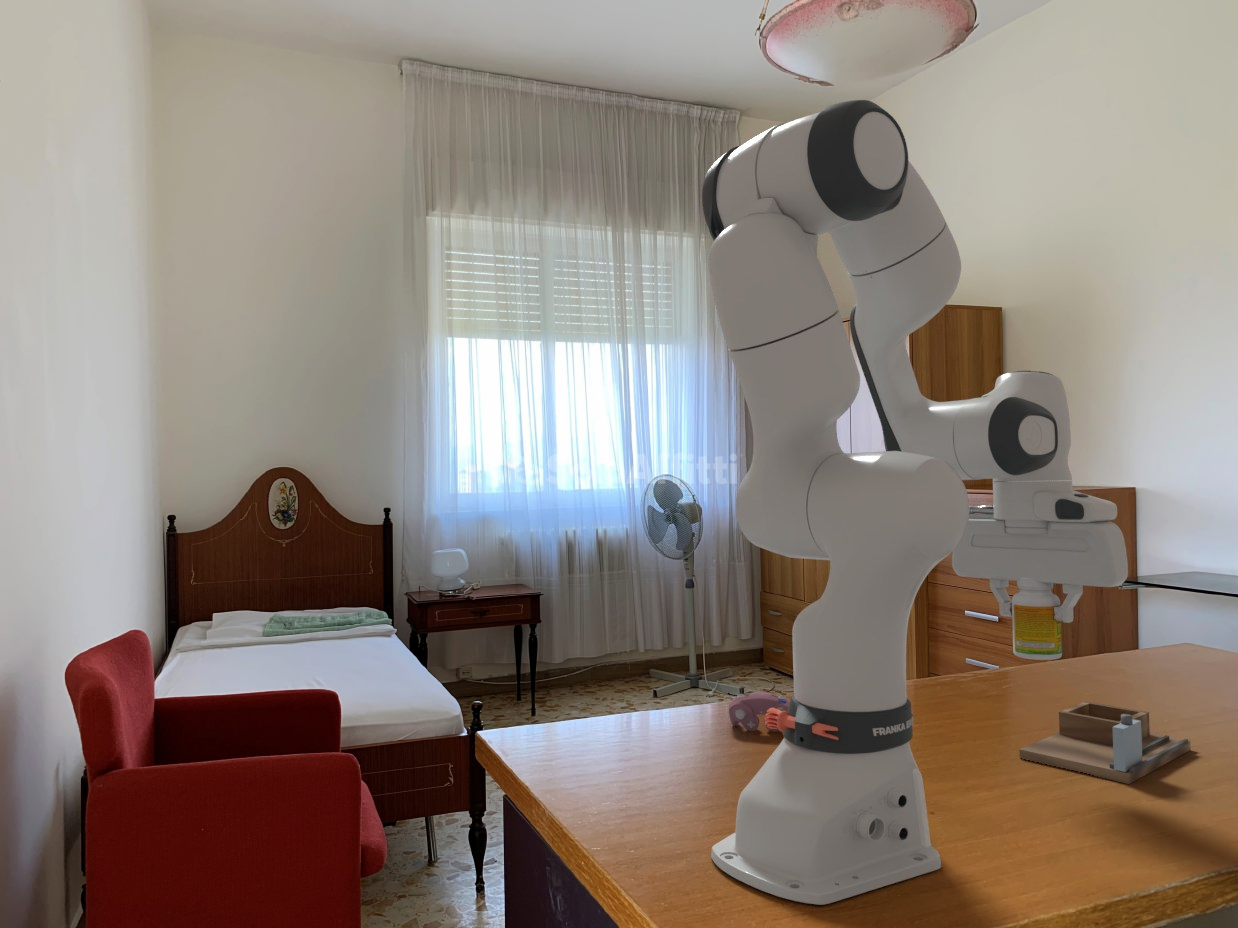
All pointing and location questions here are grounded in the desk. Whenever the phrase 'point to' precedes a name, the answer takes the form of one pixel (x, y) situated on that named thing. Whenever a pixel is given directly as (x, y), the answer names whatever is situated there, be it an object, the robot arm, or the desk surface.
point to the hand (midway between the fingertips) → (1035, 618)
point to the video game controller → (755, 708)
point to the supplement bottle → (1035, 621)
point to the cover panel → (1127, 743)
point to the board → (1101, 743)
